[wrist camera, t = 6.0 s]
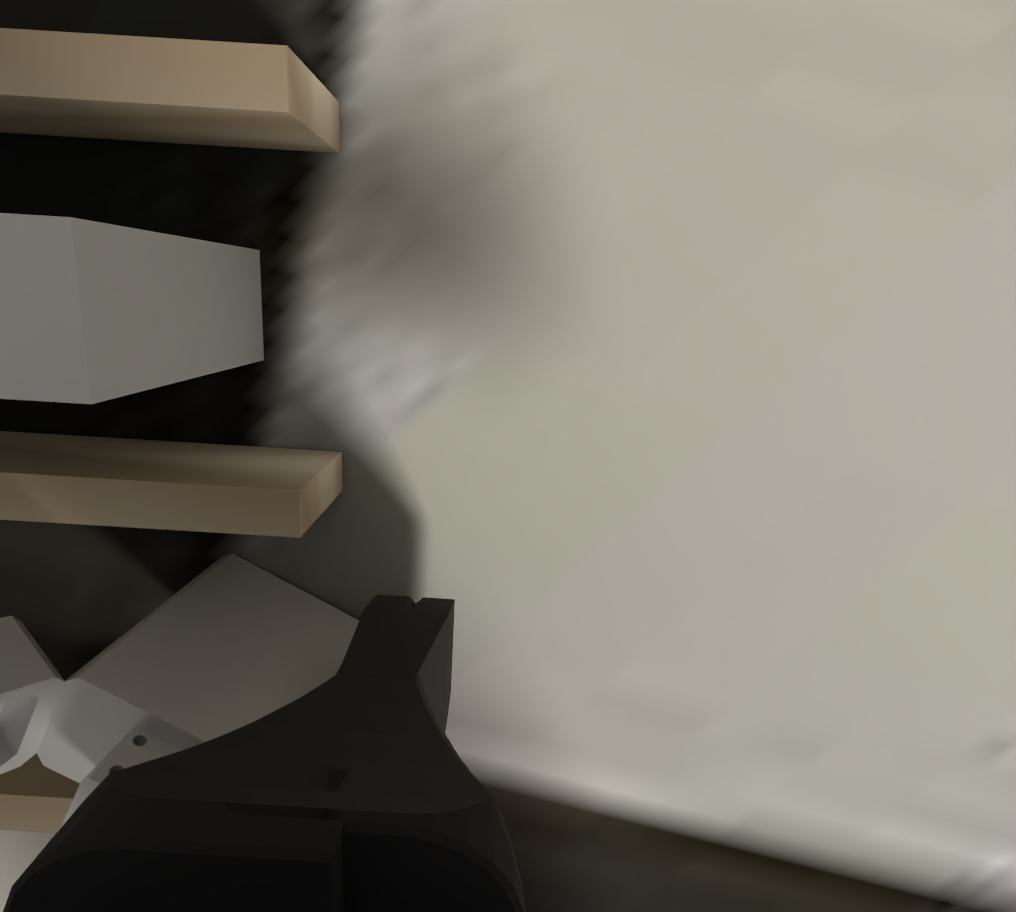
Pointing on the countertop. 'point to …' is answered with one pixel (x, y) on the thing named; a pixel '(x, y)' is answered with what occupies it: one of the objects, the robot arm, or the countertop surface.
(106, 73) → the rack
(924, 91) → the countertop surface
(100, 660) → the lighter
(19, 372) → the grey block
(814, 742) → the countertop surface
